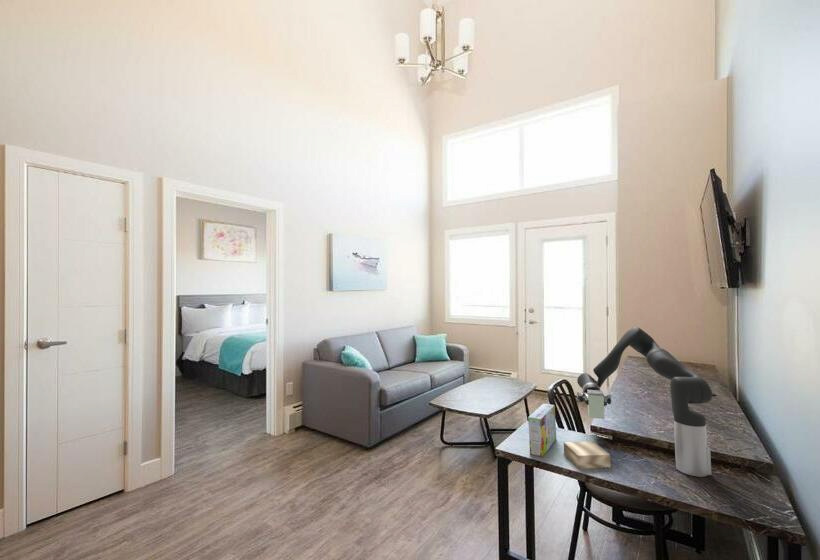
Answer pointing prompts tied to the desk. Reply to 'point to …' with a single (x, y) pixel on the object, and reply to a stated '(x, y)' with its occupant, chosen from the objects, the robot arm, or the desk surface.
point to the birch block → (586, 454)
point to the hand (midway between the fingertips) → (596, 403)
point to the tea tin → (595, 404)
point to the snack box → (542, 429)
